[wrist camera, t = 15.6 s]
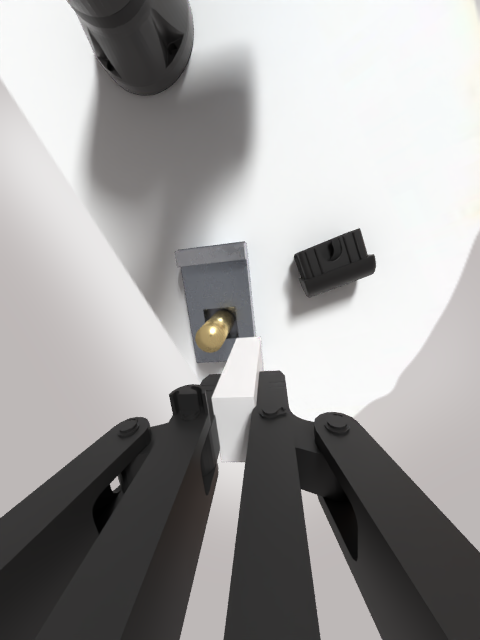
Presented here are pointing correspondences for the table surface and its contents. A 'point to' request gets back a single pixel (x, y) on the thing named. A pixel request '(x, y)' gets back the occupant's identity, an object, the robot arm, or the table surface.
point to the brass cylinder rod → (214, 331)
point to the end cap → (334, 263)
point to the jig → (218, 291)
